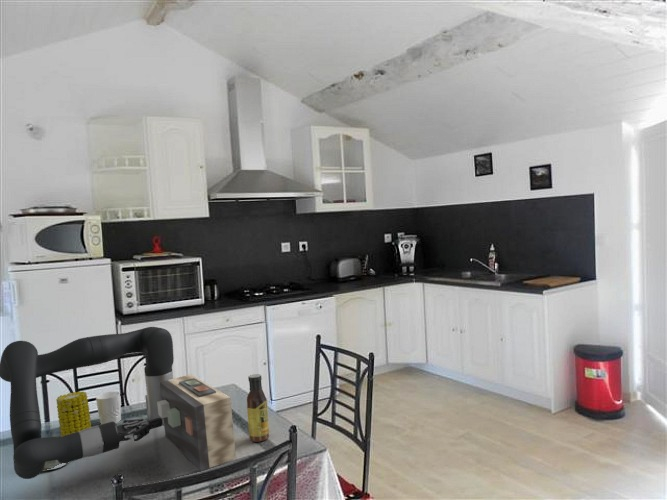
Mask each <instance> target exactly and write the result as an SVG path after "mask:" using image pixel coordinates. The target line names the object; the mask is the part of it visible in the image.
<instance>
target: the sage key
mask: <svg viewBox="0 0 667 500" xmlns="http://www.w3.org/2000/svg"><path fill="white" fill-rule="evenodd" d="M167 416H168V424H169V425H170V426H171V427H177V426H180V425H181V419H180V411H179V410H177V409H176V408H172V409H169V410H167Z"/></svg>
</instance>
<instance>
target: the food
mask: <svg viewBox="0 0 667 500" xmlns="http://www.w3.org/2000/svg"><path fill="white" fill-rule="evenodd" d="M55 401H56V405H57V406H56V409H57V418H58V423H59V427H58V428H59V429H60V435H61V436H60V437H62V436H65V435H68V434H72V433H75V432H79V431H82V430H84V429H87V428H90V427H92V422H91V420H92V419H91V413H90V405H89V402H88V401H89V399H88V394H87V392H86V391H77V392H76V391H74V392H68V393H67V394H63V395H59V396H57V398H56V400H55Z"/></svg>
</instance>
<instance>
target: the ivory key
mask: <svg viewBox="0 0 667 500" xmlns="http://www.w3.org/2000/svg"><path fill="white" fill-rule="evenodd" d="M157 405H158V415H159V416H160V417H162V418H165V417H168V416H167V410H169V409H170V406H169V402H167V401H166V400H162V401H158V402H157Z"/></svg>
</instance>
